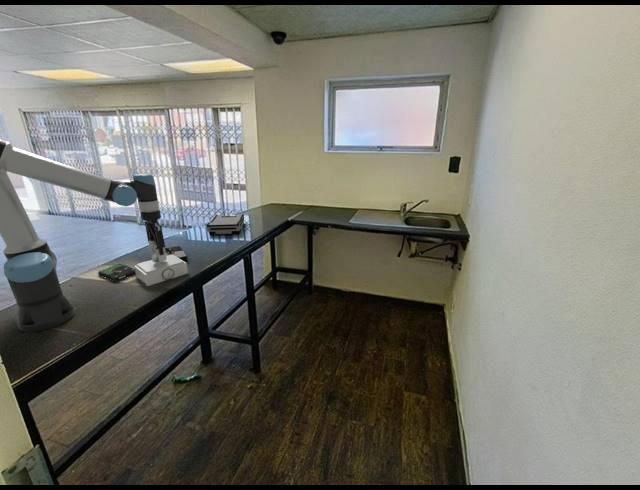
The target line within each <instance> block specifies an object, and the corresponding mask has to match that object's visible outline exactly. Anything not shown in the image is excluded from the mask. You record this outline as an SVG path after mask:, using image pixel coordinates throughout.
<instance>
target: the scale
mask: <svg viewBox="0 0 640 490" xmlns="http://www.w3.org/2000/svg"><path fill="white" fill-rule="evenodd" d="M166 257H167V260H166V261H163V262H152V259H151V260H146V261H143V262H140V263H136V265H133V268H134V269H135V273H136V275H135V276H136V278H137V279H138V280H140V281H141V282H142V283H143V284H144V283H145V284H144V285H145V286H146V287H150V286H152V285H156V284H159V283H162V282H165V281H169V280H172V279H175V278H177V277H181V276H185V275H187V274H189V270H188V264H187V263H188V262H184V261H183V260H181V259H179V258H178V257H176V256H174V255H168V256H166Z"/></svg>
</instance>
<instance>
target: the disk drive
mask: <svg viewBox="0 0 640 490" xmlns="http://www.w3.org/2000/svg"><path fill="white" fill-rule="evenodd" d="M97 275H98V276H99V275H100V277H101V276H103V277H102V278H104V277H106V278H105V279H107V278H108V279H107V280H109V279H111V280H110V281H112V280H113V281H112V282H114V281H116V282H115V283H118V282H120V280H121V281H123V280H126V279H128V278H127V277H129V278H131V277H134V276H136V273H135V268H134V267H130V266H127V265H125V264H121V263H118V264H115V265H112V266H110V267H107V268H103V269H100V270H98V272H97ZM133 275H134V276H133ZM130 276H131V277H130ZM125 278H126V279H125ZM122 279H123V280H122ZM117 281H118V282H117Z"/></svg>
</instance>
